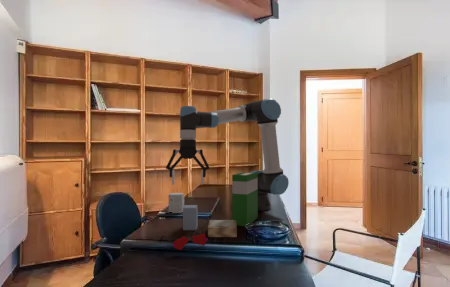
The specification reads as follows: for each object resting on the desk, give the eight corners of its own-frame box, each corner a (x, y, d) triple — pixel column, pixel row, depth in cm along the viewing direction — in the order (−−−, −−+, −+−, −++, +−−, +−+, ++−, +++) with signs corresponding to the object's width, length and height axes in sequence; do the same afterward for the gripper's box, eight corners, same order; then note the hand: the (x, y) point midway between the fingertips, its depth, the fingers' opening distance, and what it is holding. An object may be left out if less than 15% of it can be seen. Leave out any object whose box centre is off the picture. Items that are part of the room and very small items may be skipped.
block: (197, 226, 139) (197, 205, 139) (196, 230, 133) (196, 207, 133) (184, 226, 139) (184, 205, 139) (182, 230, 133) (182, 207, 133)
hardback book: (244, 216, 158) (244, 171, 158) (257, 217, 155) (257, 172, 155) (232, 224, 141) (232, 174, 142) (247, 226, 139) (246, 175, 139)
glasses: (173, 252, 106) (173, 238, 106) (160, 239, 121) (160, 227, 121) (208, 246, 113) (208, 233, 113) (191, 234, 127) (191, 222, 127)
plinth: (236, 228, 135) (236, 219, 135) (236, 237, 123) (236, 226, 123) (209, 228, 135) (209, 219, 135) (208, 237, 123) (207, 226, 123)
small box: (184, 211, 171) (184, 192, 171) (182, 213, 165) (182, 194, 165) (171, 210, 171) (171, 192, 171) (168, 213, 166) (168, 194, 166)
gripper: (214, 139, 143) (214, 183, 143) (162, 139, 142) (162, 183, 142) (214, 139, 136) (214, 185, 136) (159, 138, 135) (159, 185, 135)
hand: (187, 184), depth 139 cm, fingers open, 13 cm apart
